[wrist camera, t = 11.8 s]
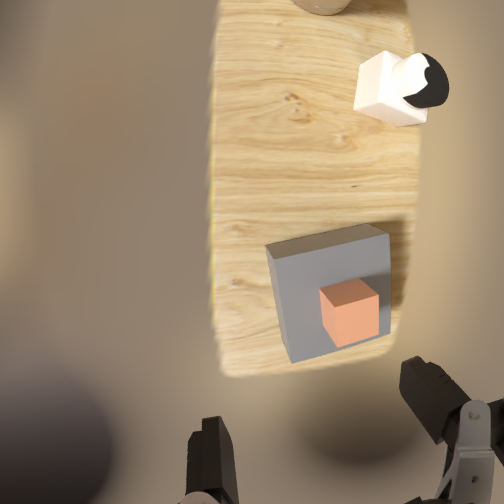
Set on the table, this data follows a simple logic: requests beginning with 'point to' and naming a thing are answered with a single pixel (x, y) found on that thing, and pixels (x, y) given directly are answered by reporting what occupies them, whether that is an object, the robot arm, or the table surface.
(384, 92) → the medicine bottle
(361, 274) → the slate pedestal
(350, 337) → the terracotta cube
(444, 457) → the robot arm
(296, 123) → the table surface
